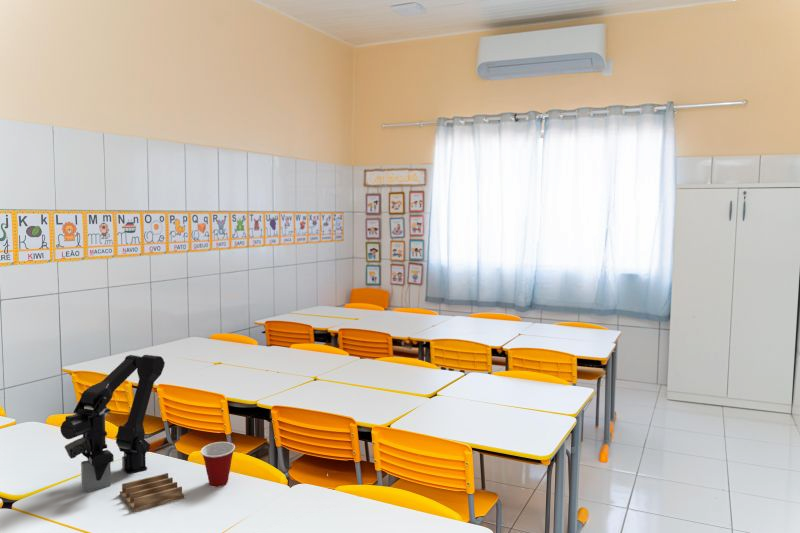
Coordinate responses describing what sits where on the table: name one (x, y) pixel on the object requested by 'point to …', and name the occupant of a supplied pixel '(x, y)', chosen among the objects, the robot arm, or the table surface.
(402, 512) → the table surface
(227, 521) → the table surface
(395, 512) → the table surface
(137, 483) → the rack
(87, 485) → the slate
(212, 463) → the plastic cup
